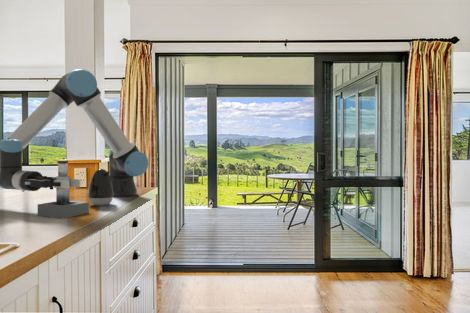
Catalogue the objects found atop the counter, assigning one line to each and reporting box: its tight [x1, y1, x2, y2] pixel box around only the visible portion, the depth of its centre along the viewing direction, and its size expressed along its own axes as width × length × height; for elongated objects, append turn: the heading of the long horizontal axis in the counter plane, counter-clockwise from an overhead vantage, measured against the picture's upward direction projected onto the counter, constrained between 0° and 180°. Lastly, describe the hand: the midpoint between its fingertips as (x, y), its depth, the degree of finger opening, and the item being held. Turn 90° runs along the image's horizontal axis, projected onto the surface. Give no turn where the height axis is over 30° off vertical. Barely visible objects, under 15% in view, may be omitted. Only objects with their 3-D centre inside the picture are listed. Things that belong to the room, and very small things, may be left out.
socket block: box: [37, 200, 90, 219], centre depth 136 cm, size 12×12×4 cm
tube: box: [55, 160, 71, 205], centre depth 136 cm, size 4×4×17 cm
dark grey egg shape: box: [87, 168, 114, 207], centre depth 157 cm, size 10×10×15 cm
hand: (74, 184), depth 134 cm, fingers closed on tube, 4 cm apart
